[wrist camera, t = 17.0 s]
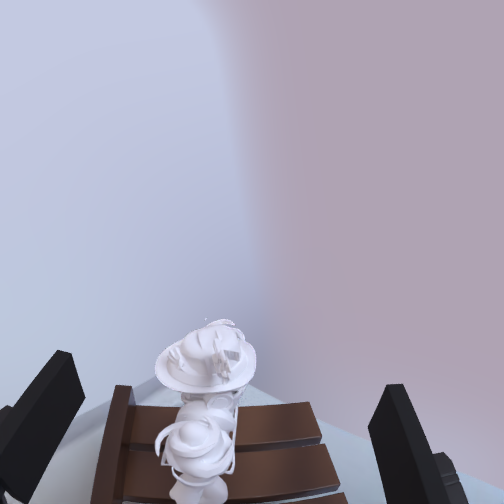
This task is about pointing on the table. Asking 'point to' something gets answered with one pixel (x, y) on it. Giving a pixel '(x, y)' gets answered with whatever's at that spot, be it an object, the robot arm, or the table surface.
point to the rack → (246, 462)
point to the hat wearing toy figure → (204, 408)
